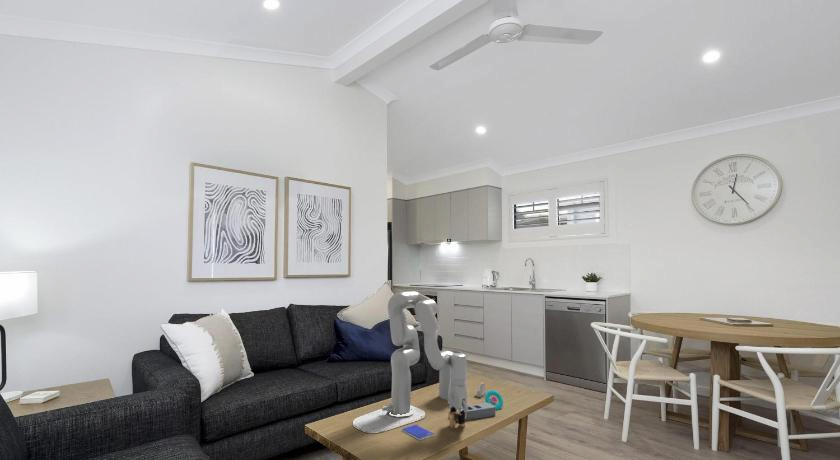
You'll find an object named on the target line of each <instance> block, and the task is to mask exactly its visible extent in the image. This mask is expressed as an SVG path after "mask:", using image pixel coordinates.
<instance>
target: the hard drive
mask: <svg viewBox="0 0 840 460" xmlns="http://www.w3.org/2000/svg"><path fill="white" fill-rule="evenodd" d="M401 431H402V432H404V433H405V434H407V435H409V436H411V437H413V438H415V439H417V440H419V441H422V440H425V439H428V438H431V437H434V436H435V433H434V432H432V431H430V430H428V429H425V428H423V427H421V426H419V425H418V424H413V425H410V426H407V427H403V428H402V430H401Z"/></svg>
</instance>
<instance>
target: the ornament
mask: <svg viewBox="0 0 840 460" xmlns="http://www.w3.org/2000/svg"><path fill="white" fill-rule="evenodd" d="M484 400H485V403H489V404H491V405H493V406H495V407H496V411H499V410H500V409H501V408H502V407H503V404H504V399H503V397H502V395H501V394H500V392H498V391H496V390H488V391H487V392H485V395H484Z"/></svg>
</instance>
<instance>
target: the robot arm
mask: <svg viewBox="0 0 840 460" xmlns="http://www.w3.org/2000/svg"><path fill="white" fill-rule="evenodd" d="M411 308H412V309H413V310H414V314H415V317H416V319H417V321H418V324H419V325H420V328H421V331H422V334H423V336H424V337H423V345H424V347H423V348H424V352H425V355H426V357H427V359H428V362H429V364H430V366H431V368H433V370H436V371H440V370H442V369H444V368H447V367H450V384H449V390H448V400H447V403H448V405H449V409H450V411H449V413H450V412H456V411H457V409H458V410H459V415H458V421H457V423H458V425H459V424H464V423H466V420H465V415H466V412H467V411H468V407H467V406H468V404H467V403H468V394H467V393H468V392H467V365H468V363H467V362H468V361H467V359H468V358H467V356H466V354H464V353H462V354H461V353H454V352H451V351H442V350H440V348H439V343H438V335H439V333H440V331H441V327H440V324H439V322H438V320H437V317H436V314H437V313H438V312H439V311H438V310H439V306H438V304H437V303H436V301H435V300H433V299H432V298H430V297H428V296H426V295H424V294H421V293H420V292H417V291H411V290H409V291H400V292H397V293H395V294H393V295H392V296H391V297H390V298H389V299H388V303H387V313H388V318H389V327H390V338H391V342H392V344H393V345H394V346H398V347H400V348H398V349H395V351H393V352H392V354H391V356H390V366H391V374H392V375H391V400H390V401H391V402H389V404H388V405H387V406H385V405H384V406H381V411H382V412H384V411H386V412H387V413H388V412H389V413H390V412H391V414H393V415H397V414H400V415H402V414H406V413H409V412H410V408H411V398H412V397H411V392H412V391H411V390H412V388H411V387H412V373H411V370H410V366H413V365H415V364H417V363H418V362H419V361H420V358H421V352H420V351H421V350H420V343H419V336H418V335H419V333H418V331H417V329H416V328H415V327H414V326H413V325H411V324H407V323H408V322H407V317H406V313H405V311H404V309H411ZM401 346H402V347H401ZM440 351H442V352H440ZM461 407H462V408H461ZM461 409H463V410H462V411H461ZM411 410H413V409H412V408H411Z"/></svg>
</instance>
